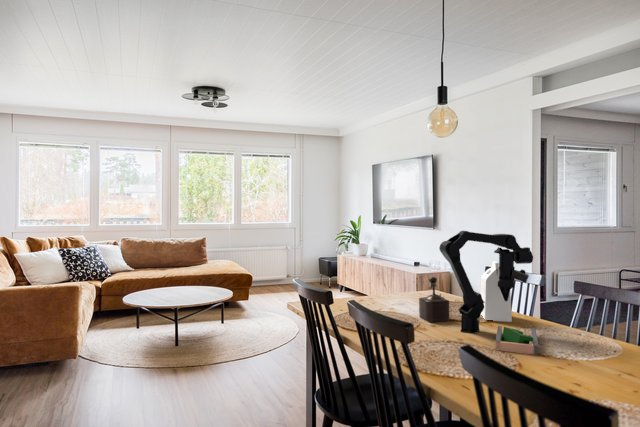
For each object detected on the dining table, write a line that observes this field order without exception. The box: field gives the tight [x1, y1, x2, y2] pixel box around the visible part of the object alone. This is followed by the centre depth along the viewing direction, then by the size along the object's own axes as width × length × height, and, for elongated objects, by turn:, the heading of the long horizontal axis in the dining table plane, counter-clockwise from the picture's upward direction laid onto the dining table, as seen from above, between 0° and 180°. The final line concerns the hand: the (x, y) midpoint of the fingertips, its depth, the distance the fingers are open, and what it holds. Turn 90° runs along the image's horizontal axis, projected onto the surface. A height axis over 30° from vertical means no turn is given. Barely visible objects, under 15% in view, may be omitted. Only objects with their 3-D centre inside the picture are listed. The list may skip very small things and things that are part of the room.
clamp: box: [501, 326, 534, 344], centre depth 169 cm, size 12×6×9 cm, turn 0°
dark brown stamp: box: [418, 276, 450, 323], centre depth 211 cm, size 16×11×18 cm
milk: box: [480, 260, 513, 323], centre depth 211 cm, size 12×12×26 cm
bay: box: [494, 325, 539, 356], centre depth 173 cm, size 14×24×3 cm, turn 157°
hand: (506, 300), depth 191 cm, fingers closed
